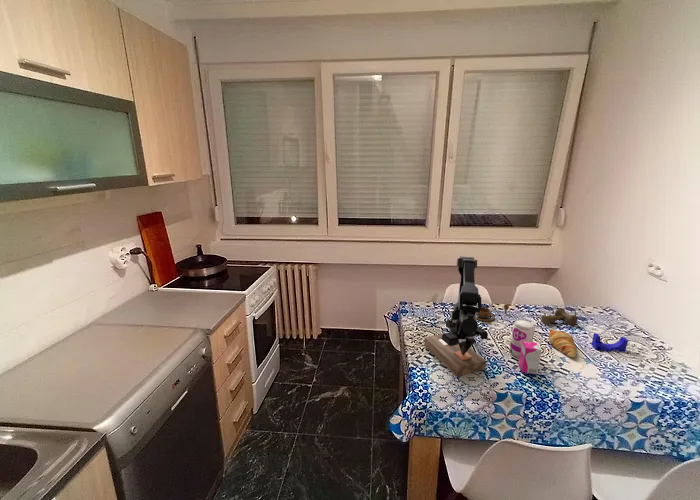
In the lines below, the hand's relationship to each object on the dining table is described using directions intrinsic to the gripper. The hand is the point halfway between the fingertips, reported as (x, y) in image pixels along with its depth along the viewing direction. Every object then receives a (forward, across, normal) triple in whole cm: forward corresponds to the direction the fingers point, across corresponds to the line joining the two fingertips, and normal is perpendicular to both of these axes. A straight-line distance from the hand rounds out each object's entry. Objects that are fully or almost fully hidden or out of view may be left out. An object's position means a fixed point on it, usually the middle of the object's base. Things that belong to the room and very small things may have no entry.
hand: (462, 354), depth 137 cm
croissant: (+5, -52, +3) cm, 53 cm away
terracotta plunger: (+3, 0, 0) cm, 3 cm away
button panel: (+5, 0, -6) cm, 8 cm away
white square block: (+4, 0, -12) cm, 13 cm away
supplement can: (+5, -29, +2) cm, 30 cm away
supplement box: (+5, -23, +12) cm, 26 cm away
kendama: (+5, -73, -14) cm, 75 cm away
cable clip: (+5, -71, +12) cm, 72 cm away
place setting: (+6, -42, -30) cm, 52 cm away
